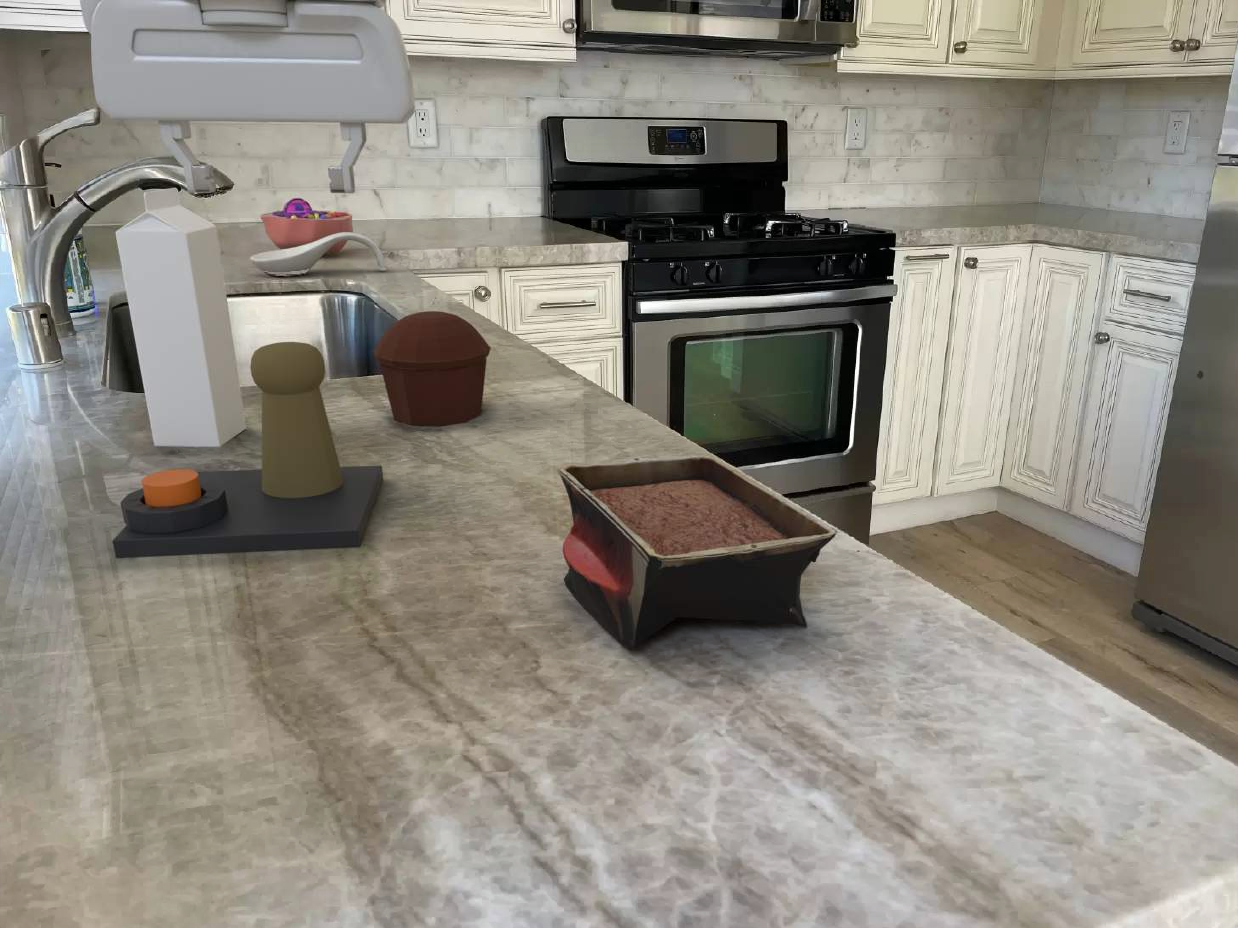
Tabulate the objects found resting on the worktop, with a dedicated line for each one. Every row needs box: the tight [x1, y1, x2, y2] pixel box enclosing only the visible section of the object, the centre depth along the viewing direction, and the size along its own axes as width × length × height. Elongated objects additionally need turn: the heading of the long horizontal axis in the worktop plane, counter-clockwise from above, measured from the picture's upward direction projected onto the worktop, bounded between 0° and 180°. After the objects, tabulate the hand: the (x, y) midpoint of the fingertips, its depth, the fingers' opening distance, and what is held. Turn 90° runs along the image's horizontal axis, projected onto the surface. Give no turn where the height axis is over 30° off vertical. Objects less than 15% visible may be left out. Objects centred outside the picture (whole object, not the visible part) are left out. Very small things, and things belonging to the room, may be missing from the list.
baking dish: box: [557, 454, 838, 651], centre depth 62 cm, size 14×18×10 cm
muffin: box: [372, 310, 492, 427], centre depth 101 cm, size 12×11×10 cm
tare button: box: [141, 468, 202, 507], centre depth 71 cm, size 4×4×2 cm
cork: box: [249, 341, 344, 498], centre depth 77 cm, size 6×6×11 cm
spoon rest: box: [249, 232, 387, 276], centre depth 188 cm, size 24×12×7 cm, turn 111°
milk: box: [115, 187, 247, 448], centre depth 90 cm, size 6×6×22 cm
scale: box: [111, 465, 384, 559], centre depth 76 cm, size 16×14×3 cm
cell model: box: [259, 197, 354, 256], centre depth 210 cm, size 17×20×11 cm
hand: (273, 192), depth 71 cm, fingers open, 8 cm apart
